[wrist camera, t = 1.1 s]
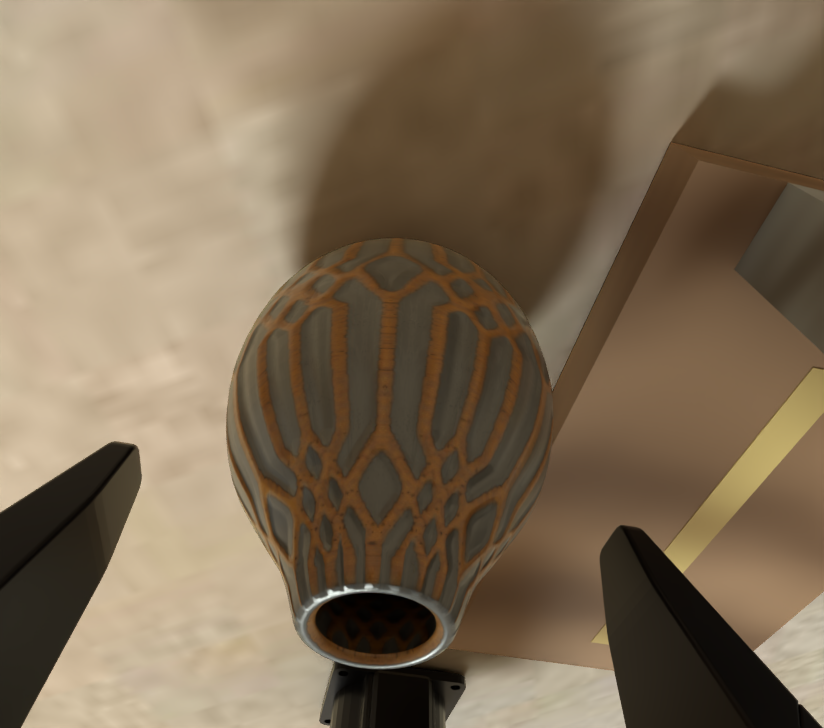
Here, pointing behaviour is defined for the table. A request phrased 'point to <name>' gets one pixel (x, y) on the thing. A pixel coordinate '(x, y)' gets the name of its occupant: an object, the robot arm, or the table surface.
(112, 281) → the table surface
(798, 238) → the wooden board with block
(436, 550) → the vase
